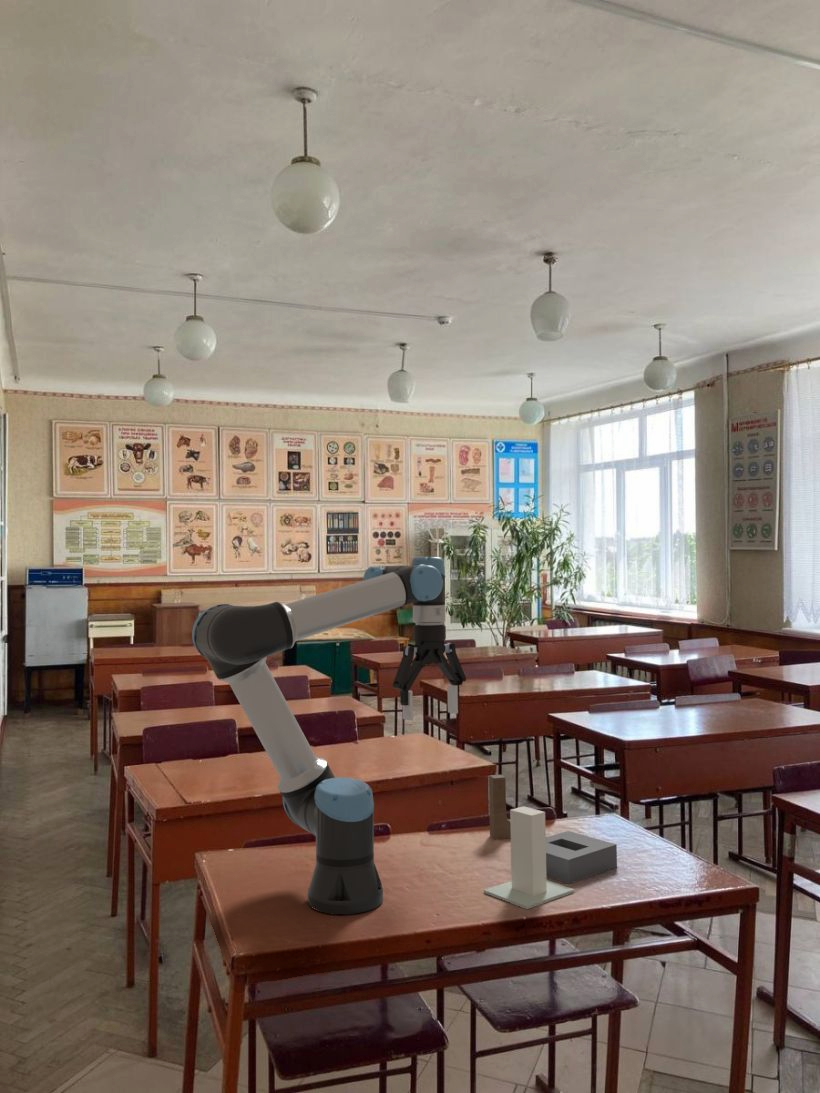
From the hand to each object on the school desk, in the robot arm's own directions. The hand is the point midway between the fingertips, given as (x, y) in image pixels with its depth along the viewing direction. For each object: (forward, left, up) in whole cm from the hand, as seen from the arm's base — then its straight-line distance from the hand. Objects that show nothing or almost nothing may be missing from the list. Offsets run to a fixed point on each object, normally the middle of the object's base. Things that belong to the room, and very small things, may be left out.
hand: (430, 716), depth 207 cm
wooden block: (+25, +2, -33) cm, 41 cm away
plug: (+1, -29, -32) cm, 43 cm away
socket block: (+19, -24, -33) cm, 45 cm away
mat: (+1, -29, -33) cm, 44 cm away
